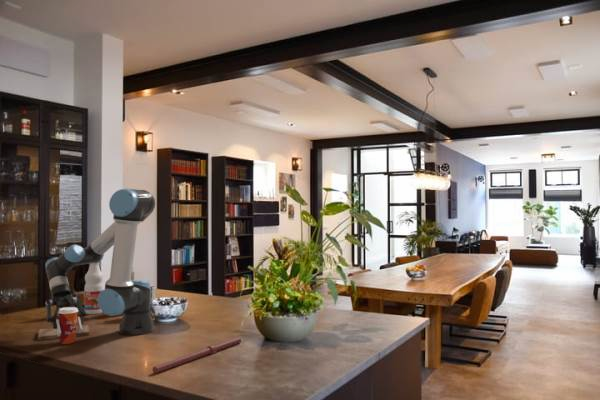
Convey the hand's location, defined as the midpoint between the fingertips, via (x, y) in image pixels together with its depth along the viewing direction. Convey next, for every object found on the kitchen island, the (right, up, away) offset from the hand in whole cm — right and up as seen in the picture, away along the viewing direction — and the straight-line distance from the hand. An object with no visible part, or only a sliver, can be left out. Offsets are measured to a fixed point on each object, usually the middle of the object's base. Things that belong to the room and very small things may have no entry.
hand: (70, 332), depth 197 cm
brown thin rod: (+58, -5, -17) cm, 60 cm away
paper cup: (-2, -5, +2) cm, 6 cm away
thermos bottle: (+1, -6, +59) cm, 60 cm away
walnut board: (-10, -5, +16) cm, 19 cm away
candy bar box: (+14, -6, +50) cm, 52 cm away
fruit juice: (-16, -6, +60) cm, 63 cm away
